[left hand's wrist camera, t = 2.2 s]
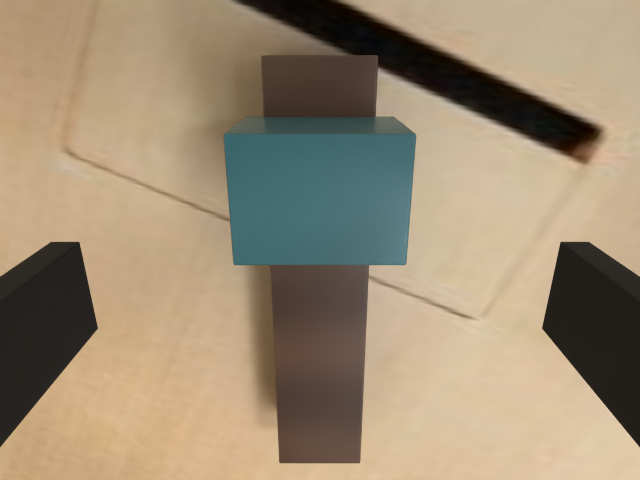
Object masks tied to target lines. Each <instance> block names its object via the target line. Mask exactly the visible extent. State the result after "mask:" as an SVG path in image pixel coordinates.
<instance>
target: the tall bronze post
mask: <svg viewBox="0 0 640 480" xmlns="http://www.w3.org/2000/svg"><path fill="white" fill-rule="evenodd" d="M261 64H262V86H263V109H264V117H376V94H377V71H378V56H262V57H261ZM368 275H369V265H271V287H272V309H273V332H274V354H275V376H276V399H277V421H278V443H279V462H280V463H360V455H361V433H362V410H363V388H364V365H365V342H366V320H367V297H368Z"/></svg>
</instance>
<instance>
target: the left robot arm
mask: <svg viewBox="0 0 640 480" xmlns="http://www.w3.org/2000/svg"><path fill="white" fill-rule="evenodd" d="M97 329H98V327H97V322H96V318H95V313H94V308H93V304H92V299H91V294H90V290H89V285H88V280H87V276H86V271H85V266H84V262H83V257H82V252H81V248H80V243H79V242H50V243H49V244H48V245H46V246H45V247H43V248H42V249H40V250H39V251H37V252H36V253H34V254H33V255H31V256H30V257H29V258H27V259H26V260H24V261H23V262H21V263H20V264H18V265H17V266H15V267H14V268H12V269H11V270H9V271H8V272H7V273H5V274H4V275H2V276H1V277H0V447H1V446H2V444H3V443H4V442H5V441H6V439H7V438H8V437H9V436H10V435H11V433H12V432H13V431H14V430H15V429H16V427H17V426H18V425H19V424H20V422H21V421H22V420H23V419H24V418H25V416H26V415H27V414H28V413H29V412H30V410H31V409H32V408H33V407H34V405H35V404H36V403H37V402H38V401H39V399H40V398H41V397H42V396H43V394H44V393H45V392H46V391H47V390H48V388H49V387H50V386H51V385H52V384H53V382H54V381H55V380H56V379H57V377H58V376H59V375H60V374H61V373H62V371H63V370H64V369H65V368H66V367H67V365H68V364H69V363H70V362H71V360H72V359H73V358H74V357H75V356H76V354H77V353H78V352H79V351H80V350H81V348H82V347H83V346H84V345H85V343H86V342H87V341H88V340H89V339H90V337H91V336H92V335H93V334H94V332H95V331H96V330H97ZM542 329H543V330H544V331H545V332H546V334H547V335H548V336H549V337H550V339H551V340H552V341H553V342H554V343H555V345H556V346H557V347H558V348H559V350H560V351H561V352H562V353H563V354H564V356H565V357H566V358H567V359H568V360H569V362H570V363H571V364H572V365H573V367H574V368H575V369H576V370H577V371H578V373H579V374H580V375H581V376H582V377H583V379H584V380H585V381H586V382H587V384H588V385H589V386H590V387H591V388H592V390H593V391H594V392H595V393H596V394H597V396H598V397H599V398H600V399H601V401H602V402H603V403H604V404H605V405H606V407H607V408H608V409H609V410H610V412H611V413H612V414H613V415H614V416H615V418H616V419H617V420H618V421H619V422H620V424H621V425H622V426H623V427H624V429H625V430H626V431H627V432H628V433H629V435H630V436H631V437H632V438H633V439H634V441H635V442H636V443H637V444H638V446H639V447H640V277H639V276H638V275H636V274H635V273H633V272H632V271H631V270H629V269H628V268H626V267H625V266H623V265H622V264H620V263H619V262H617V261H616V260H614V259H613V258H611V257H610V256H609V255H607V254H606V253H604V252H603V251H601V250H600V249H598V248H597V247H595V246H594V245H592V244H591V243H590V242H561V243H560V248H559V252H558V257H557V262H556V266H555V271H554V276H553V280H552V285H551V290H550V294H549V299H548V304H547V308H546V313H545V318H544V322H543V327H542Z"/></svg>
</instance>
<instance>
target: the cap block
mask: <svg viewBox="0 0 640 480" xmlns="http://www.w3.org/2000/svg"><path fill="white" fill-rule="evenodd" d="M415 145H416V134H415V133H414V132H412V131H411V130H410V129H409V128H407V127H406V126H405V125H404V124H402V123H401V122H400V121H398V120H397V119H396V118H395V117H245V118H244V119H243V120H241V121H240V122H239V123H238V124H236V125H235V126H234V127H232V128H231V129H230V130H229V131H227V132H226V133H225V134H224V149H225V162H226V174H227V187H228V200H229V213H230V225H231V238H232V251H233V263H234V265H406V260H407V247H408V235H409V222H410V209H411V196H412V183H413V170H414V158H415Z"/></svg>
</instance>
